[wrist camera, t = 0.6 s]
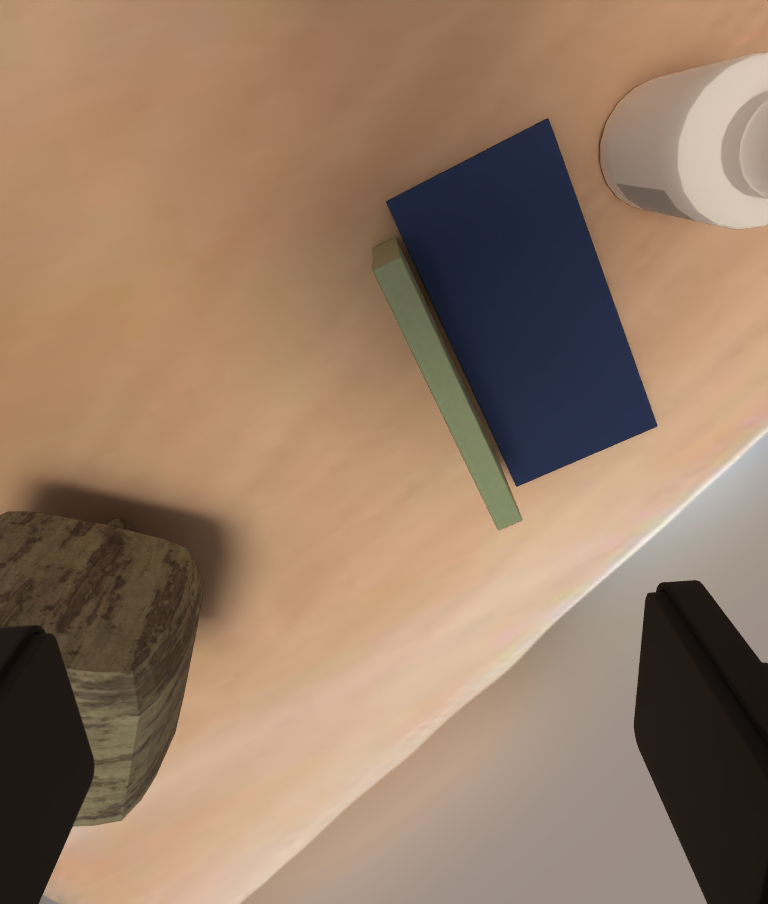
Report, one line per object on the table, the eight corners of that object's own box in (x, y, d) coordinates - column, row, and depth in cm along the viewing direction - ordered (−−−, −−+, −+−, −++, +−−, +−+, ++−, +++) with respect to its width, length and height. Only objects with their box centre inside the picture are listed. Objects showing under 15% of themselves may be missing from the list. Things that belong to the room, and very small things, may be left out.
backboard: (395, 236, 41) (400, 256, 34) (499, 462, 47) (523, 520, 39) (372, 248, 41) (372, 270, 34) (478, 471, 47) (498, 531, 40)
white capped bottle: (629, 233, 41) (803, 291, 25) (575, 126, 39) (727, 109, 22) (739, 163, 40) (1002, 175, 23) (690, 48, 37) (942, -32, 21)
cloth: (546, 118, 39) (548, 118, 38) (655, 424, 46) (657, 426, 46) (386, 201, 40) (386, 201, 40) (515, 484, 47) (516, 487, 47)
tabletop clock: (8, 580, 50) (-302, 949, 27) (16, 467, 46) (-333, 779, 23) (212, 621, 51) (84, 1002, 29) (234, 515, 48) (108, 851, 25)
